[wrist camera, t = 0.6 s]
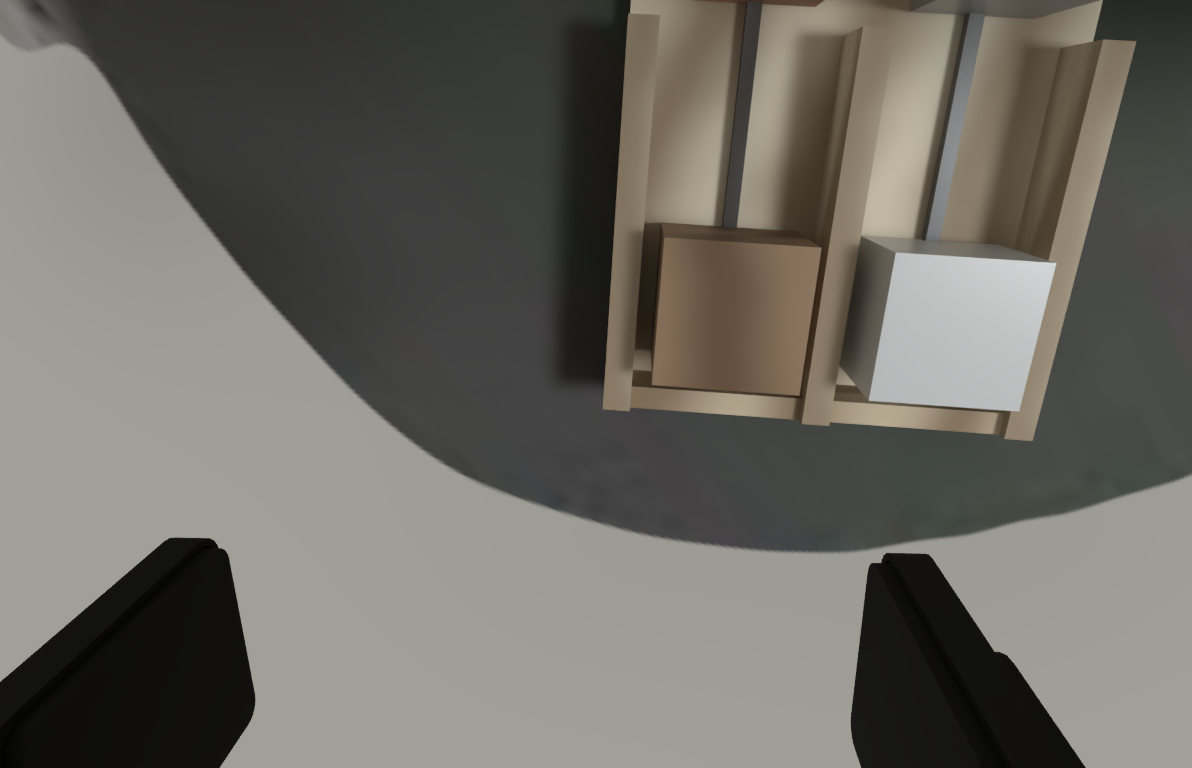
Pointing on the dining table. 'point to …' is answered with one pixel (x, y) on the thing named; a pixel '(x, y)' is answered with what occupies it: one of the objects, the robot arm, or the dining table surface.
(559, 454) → the dining table surface
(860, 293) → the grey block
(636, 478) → the dining table surface
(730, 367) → the walnut block
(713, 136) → the lane shelf
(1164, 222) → the dining table surface
